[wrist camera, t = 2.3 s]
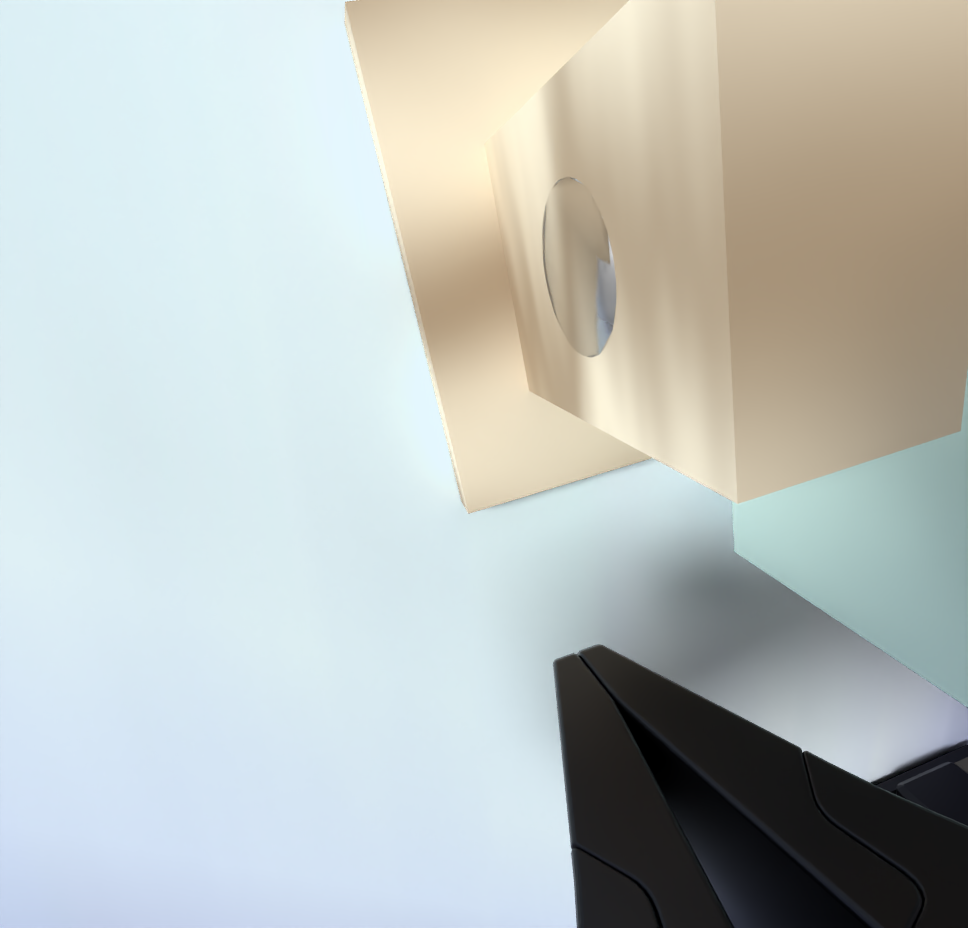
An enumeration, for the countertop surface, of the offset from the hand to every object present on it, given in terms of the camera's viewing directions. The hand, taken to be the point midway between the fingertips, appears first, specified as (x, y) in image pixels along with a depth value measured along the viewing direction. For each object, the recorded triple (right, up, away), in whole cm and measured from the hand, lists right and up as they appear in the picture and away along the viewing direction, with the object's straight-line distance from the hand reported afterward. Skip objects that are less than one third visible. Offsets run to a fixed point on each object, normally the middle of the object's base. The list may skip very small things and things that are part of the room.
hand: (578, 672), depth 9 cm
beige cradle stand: (+13, +12, +6) cm, 18 cm away
